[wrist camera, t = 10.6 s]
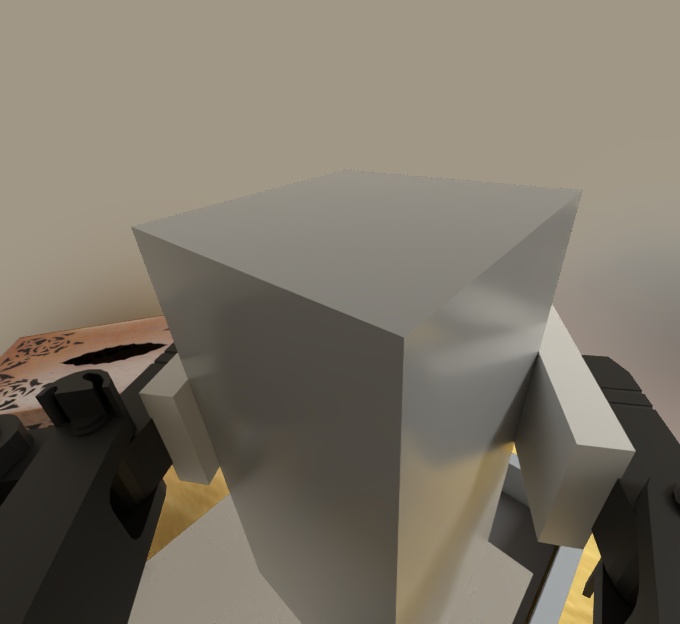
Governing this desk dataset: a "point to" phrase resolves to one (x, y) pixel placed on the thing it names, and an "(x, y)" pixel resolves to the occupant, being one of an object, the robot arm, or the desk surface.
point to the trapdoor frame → (531, 551)
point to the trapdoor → (260, 598)
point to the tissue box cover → (76, 361)
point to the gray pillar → (363, 373)
